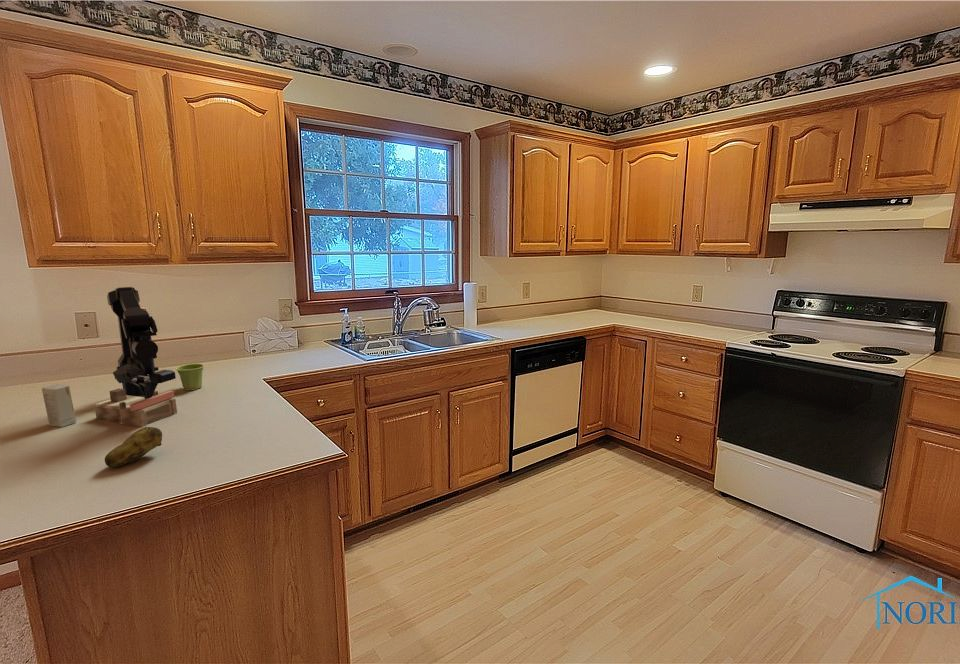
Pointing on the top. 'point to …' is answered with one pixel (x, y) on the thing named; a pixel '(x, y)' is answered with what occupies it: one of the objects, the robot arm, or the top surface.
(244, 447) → the top surface
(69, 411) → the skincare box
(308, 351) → the top surface
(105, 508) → the top surface
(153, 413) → the toolbox
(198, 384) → the plant pot
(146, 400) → the bar
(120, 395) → the lid
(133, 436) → the potato
